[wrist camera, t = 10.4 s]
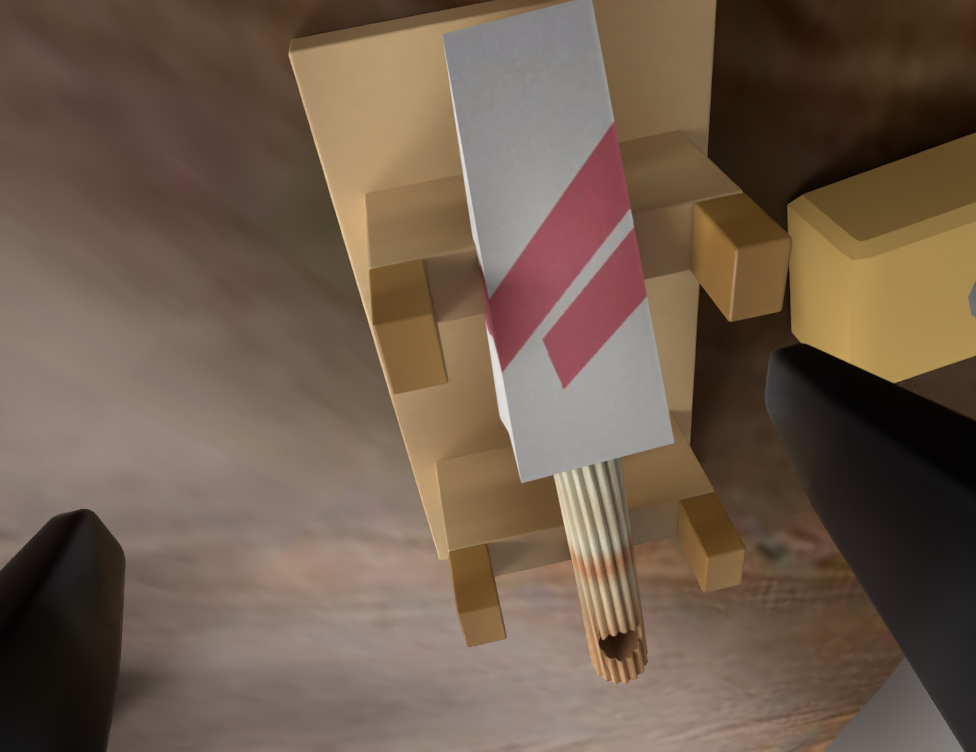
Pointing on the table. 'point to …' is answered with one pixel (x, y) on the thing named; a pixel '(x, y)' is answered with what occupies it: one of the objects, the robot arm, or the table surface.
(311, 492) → the table surface
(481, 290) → the brush rack
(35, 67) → the table surface
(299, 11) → the table surface
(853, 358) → the rubber stamp
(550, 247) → the paintbrush
